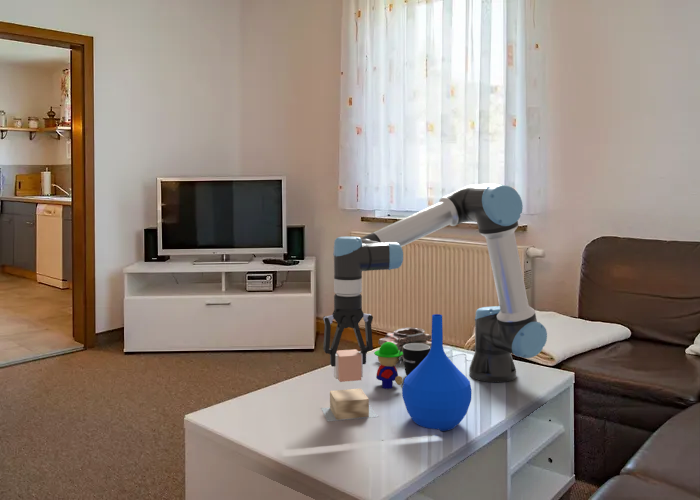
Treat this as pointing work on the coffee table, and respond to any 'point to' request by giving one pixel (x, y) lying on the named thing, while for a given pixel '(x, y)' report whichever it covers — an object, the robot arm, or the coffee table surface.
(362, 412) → the oak brick
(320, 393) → the coffee table surface
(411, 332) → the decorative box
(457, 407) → the vase
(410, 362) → the mug
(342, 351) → the salmon pink block
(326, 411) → the board
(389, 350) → the toy
